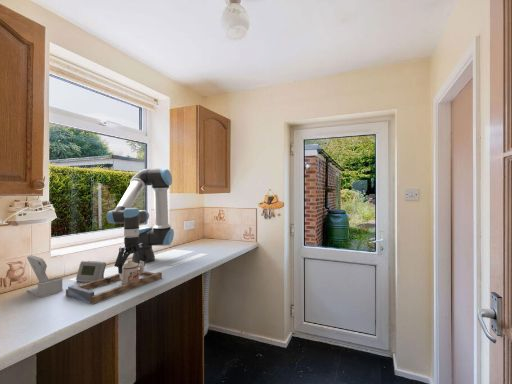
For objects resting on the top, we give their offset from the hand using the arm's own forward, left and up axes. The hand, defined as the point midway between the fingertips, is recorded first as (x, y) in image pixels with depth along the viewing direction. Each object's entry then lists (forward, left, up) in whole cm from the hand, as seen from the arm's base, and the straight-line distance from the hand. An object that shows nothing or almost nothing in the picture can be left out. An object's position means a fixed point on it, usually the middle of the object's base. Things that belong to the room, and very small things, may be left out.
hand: (132, 275), depth 148 cm
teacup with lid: (0, 0, -3) cm, 3 cm away
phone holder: (+29, -27, -3) cm, 40 cm away
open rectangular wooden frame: (+9, 0, -3) cm, 9 cm away
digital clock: (+10, -20, -3) cm, 23 cm away
